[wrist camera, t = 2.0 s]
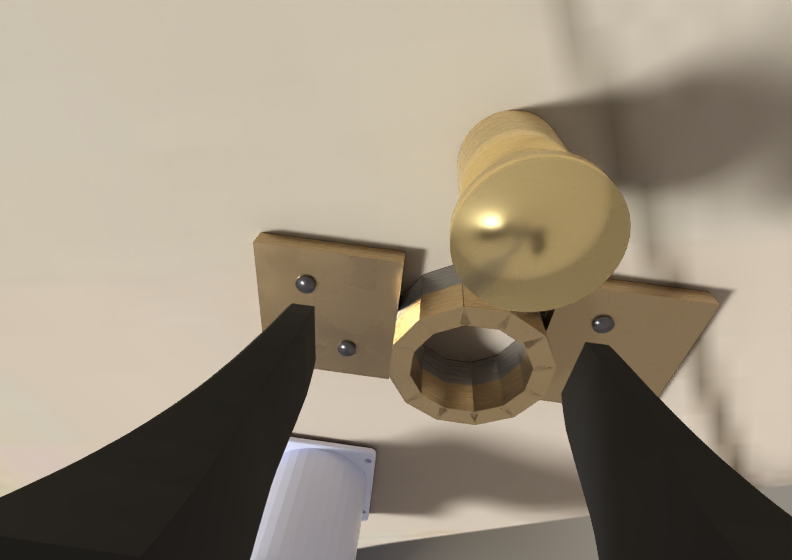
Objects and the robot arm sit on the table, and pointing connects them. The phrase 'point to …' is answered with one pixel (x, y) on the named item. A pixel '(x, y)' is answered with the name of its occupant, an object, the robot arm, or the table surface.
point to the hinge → (457, 306)
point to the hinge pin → (533, 217)
